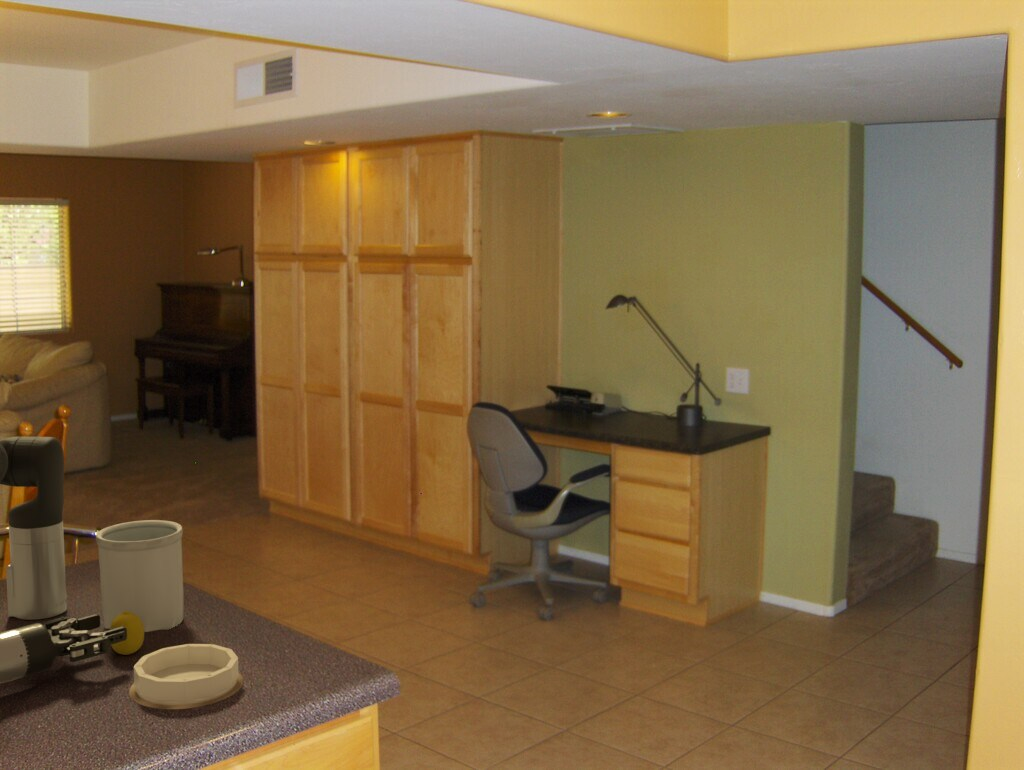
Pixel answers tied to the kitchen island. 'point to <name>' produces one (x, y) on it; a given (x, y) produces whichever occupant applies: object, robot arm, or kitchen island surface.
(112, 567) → the utensil holder
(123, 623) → the lemon
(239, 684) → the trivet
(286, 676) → the kitchen island surface
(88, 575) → the kitchen island surface
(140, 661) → the bowl
